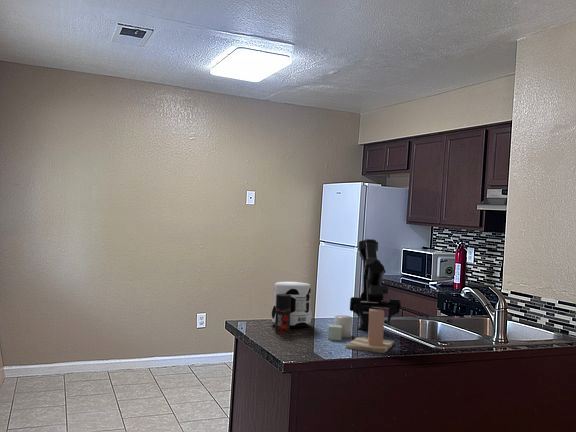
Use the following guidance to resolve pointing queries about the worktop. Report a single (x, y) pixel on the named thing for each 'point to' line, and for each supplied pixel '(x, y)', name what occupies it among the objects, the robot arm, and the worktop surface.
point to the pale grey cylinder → (344, 324)
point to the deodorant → (282, 313)
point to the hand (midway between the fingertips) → (375, 323)
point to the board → (362, 344)
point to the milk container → (295, 302)
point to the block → (334, 332)
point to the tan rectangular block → (376, 327)
